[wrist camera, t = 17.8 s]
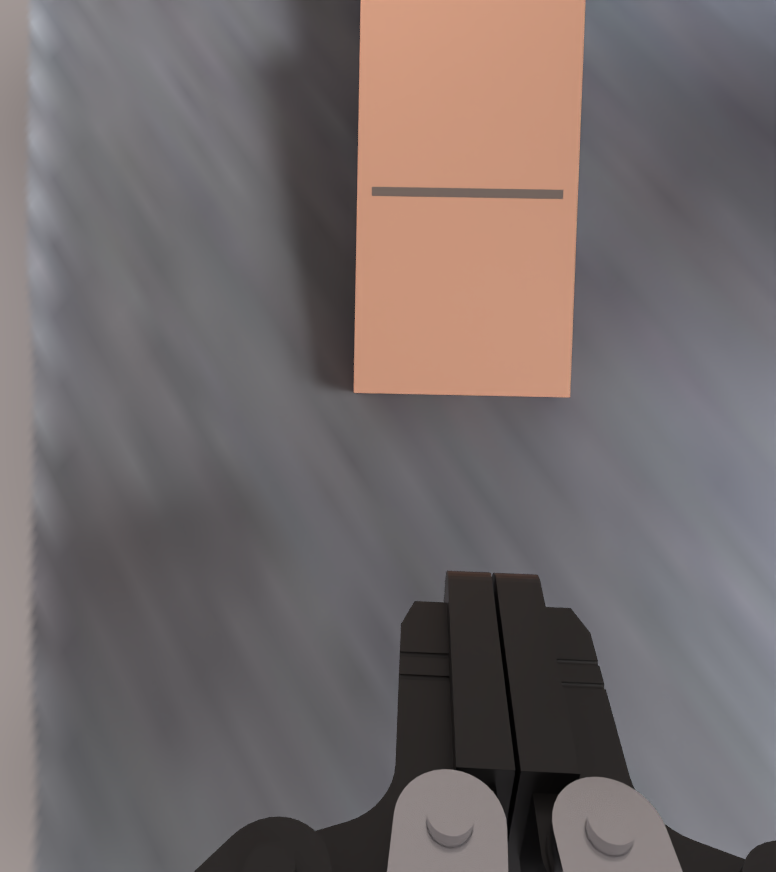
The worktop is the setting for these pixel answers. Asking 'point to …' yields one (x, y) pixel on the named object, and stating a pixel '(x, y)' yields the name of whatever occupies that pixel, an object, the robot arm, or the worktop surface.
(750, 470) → the worktop surface
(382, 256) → the rust tile
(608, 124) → the worktop surface
